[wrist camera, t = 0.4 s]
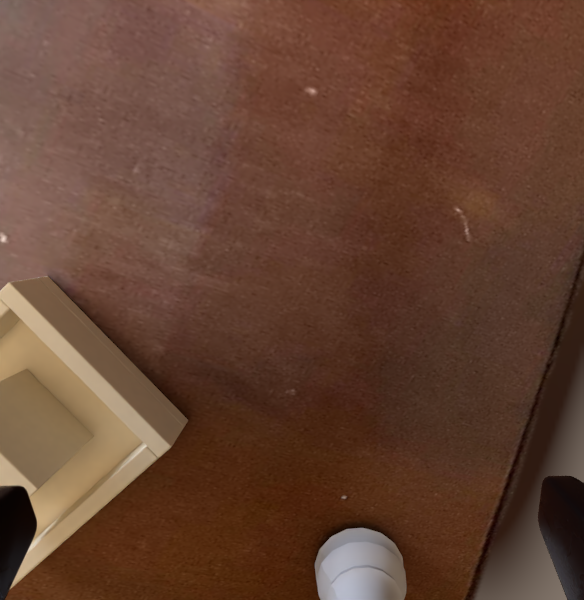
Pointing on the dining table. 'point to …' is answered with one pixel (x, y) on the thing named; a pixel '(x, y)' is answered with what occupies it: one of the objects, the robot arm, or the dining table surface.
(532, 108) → the dining table surface
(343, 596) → the rook chess piece
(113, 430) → the cream tray
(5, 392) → the cream block
